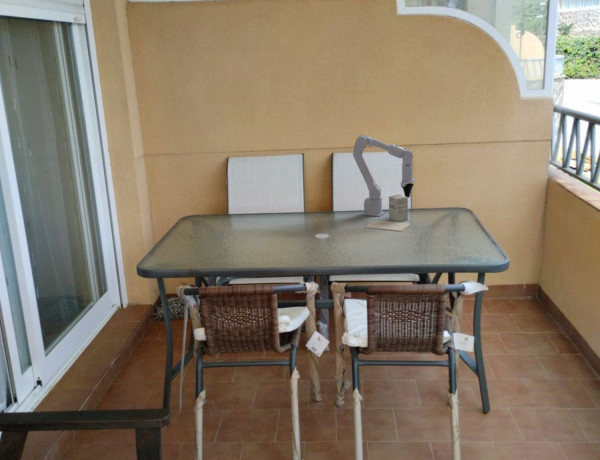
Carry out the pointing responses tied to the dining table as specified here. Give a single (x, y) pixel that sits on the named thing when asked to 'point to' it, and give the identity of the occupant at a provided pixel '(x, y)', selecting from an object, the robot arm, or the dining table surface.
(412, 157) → the robot arm
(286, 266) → the dining table surface
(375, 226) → the mat
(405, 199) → the supplement box
